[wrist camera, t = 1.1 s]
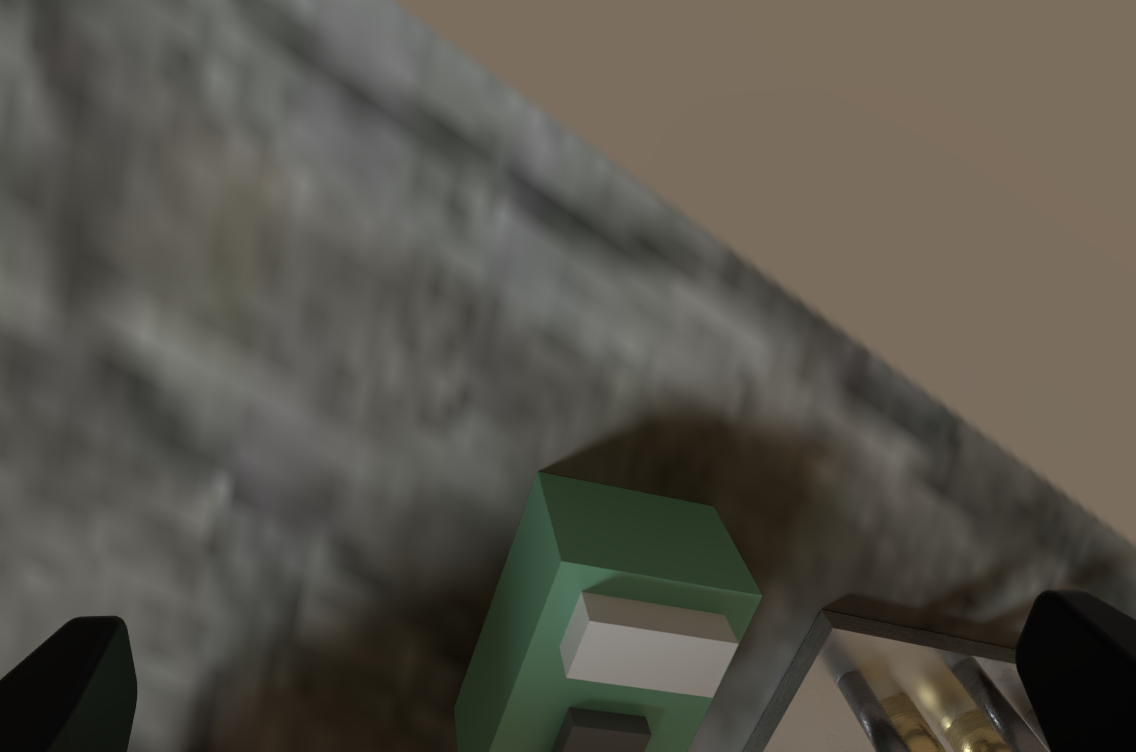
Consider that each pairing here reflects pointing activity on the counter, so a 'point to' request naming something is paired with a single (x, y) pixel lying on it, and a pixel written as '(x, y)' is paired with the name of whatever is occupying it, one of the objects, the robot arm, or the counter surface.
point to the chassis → (897, 694)
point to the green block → (605, 625)
